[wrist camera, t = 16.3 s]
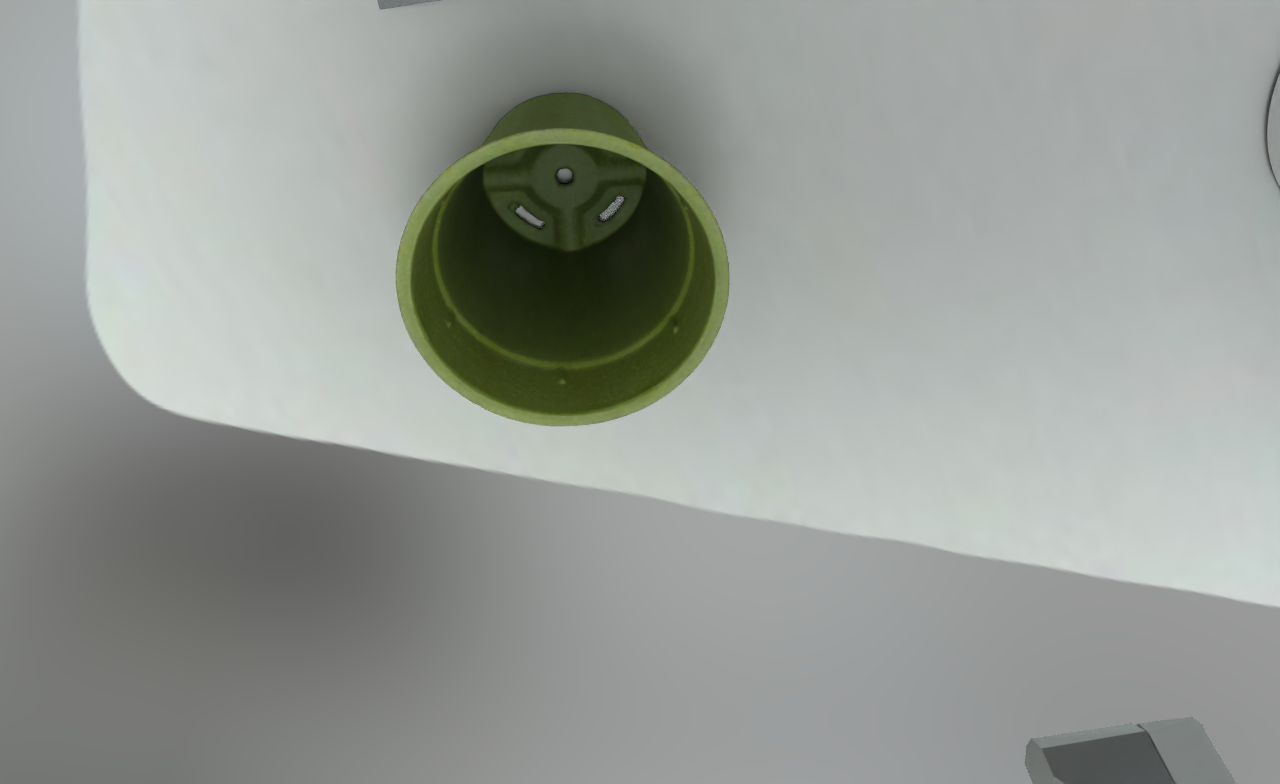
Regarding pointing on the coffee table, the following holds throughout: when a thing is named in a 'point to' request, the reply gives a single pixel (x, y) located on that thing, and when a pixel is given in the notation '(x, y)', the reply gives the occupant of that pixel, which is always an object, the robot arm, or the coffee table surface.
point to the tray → (399, 3)
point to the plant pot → (562, 269)
